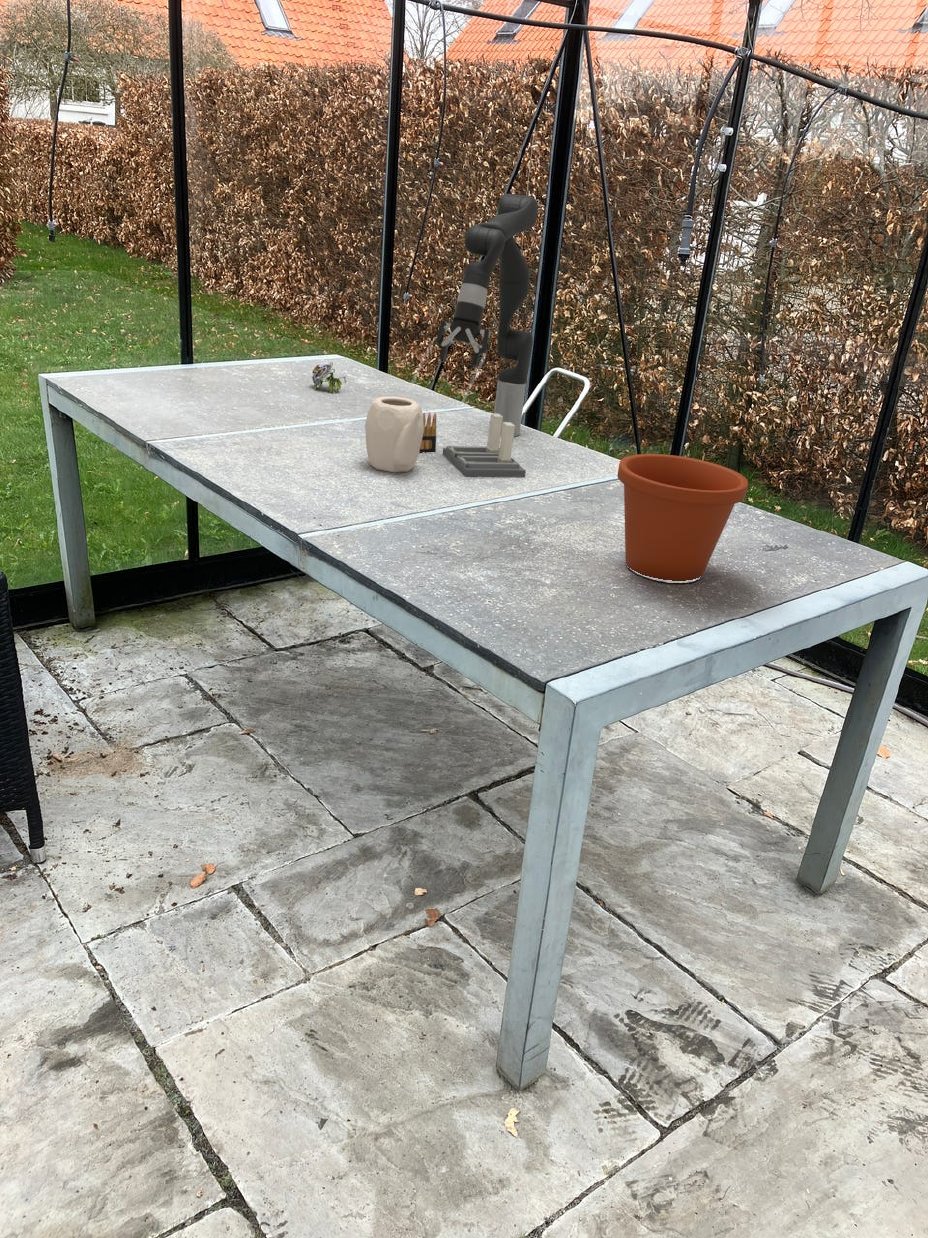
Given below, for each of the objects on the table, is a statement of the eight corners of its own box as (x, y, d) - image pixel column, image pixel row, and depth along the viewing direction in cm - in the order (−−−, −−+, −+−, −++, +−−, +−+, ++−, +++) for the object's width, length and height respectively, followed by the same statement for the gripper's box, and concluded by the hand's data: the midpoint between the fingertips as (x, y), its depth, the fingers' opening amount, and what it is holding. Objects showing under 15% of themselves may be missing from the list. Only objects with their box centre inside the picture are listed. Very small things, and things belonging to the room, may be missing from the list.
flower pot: (577, 561, 221) (593, 462, 212) (648, 539, 240) (666, 448, 230) (680, 605, 204) (703, 499, 194) (748, 578, 223) (772, 481, 213)
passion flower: (315, 404, 355) (303, 373, 355) (341, 397, 360) (329, 367, 360) (326, 392, 345) (313, 361, 345) (352, 386, 351) (340, 355, 350)
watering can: (388, 484, 258) (393, 414, 250) (349, 456, 279) (353, 390, 271) (440, 481, 265) (446, 413, 258) (398, 454, 286) (403, 390, 278)
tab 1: (485, 451, 291) (489, 413, 286) (494, 451, 292) (499, 413, 287) (489, 455, 287) (494, 416, 282) (499, 455, 288) (504, 416, 283)
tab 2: (496, 460, 282) (501, 421, 277) (506, 461, 283) (511, 422, 278) (501, 465, 279) (506, 425, 274) (511, 465, 280) (516, 425, 275)
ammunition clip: (403, 453, 287) (406, 413, 282) (400, 451, 289) (403, 411, 284) (435, 452, 292) (439, 413, 287) (433, 450, 294) (436, 411, 289)
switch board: (442, 454, 291) (443, 443, 290) (498, 455, 297) (499, 444, 295) (465, 476, 272) (466, 464, 271) (524, 477, 278) (526, 465, 277)
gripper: (499, 312, 262) (485, 372, 264) (449, 302, 265) (436, 362, 267) (493, 305, 255) (479, 367, 257) (442, 295, 258) (429, 357, 260)
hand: (457, 364), depth 262 cm, fingers open, 8 cm apart
